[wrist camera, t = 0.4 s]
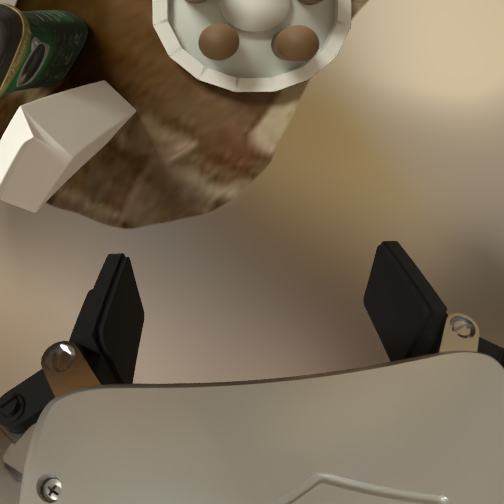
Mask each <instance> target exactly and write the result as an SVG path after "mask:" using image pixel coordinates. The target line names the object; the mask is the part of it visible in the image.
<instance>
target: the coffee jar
mask: <svg viewBox="0 0 504 504" xmlns="http://www.w3.org/2000/svg"><path fill="white" fill-rule="evenodd" d="M87 35H88V29H87V25H86V24H85V22H84V21H83V20H82V19H81V18H79V17H78V16H76V15H74V14H72V13H70V12H67V11H62V10H41V11H20V10H19V9H17V8H16V7H14V6H12V5H9V4H5V3H0V98H1V97H2V96H4V95H6V94H8V93H11V92H14V91H19V90H24V89H29V88H38V87H46V86H51V85H55V84H57V83H59V82H60V81H61V80H62V79H63V78H64V77H65V76H66V74H67V73H68V72H69V70H70V69H71V67H72V66H73V64H74V62H75V61H76V59H77V57H78V56H79V54H80V52H81V50H82V48H83V46H84V44H85V42H86V39H87Z"/></svg>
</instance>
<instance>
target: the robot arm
mask: <svg viewBox="0 0 504 504" xmlns="http://www.w3.org/2000/svg"><path fill="white" fill-rule="evenodd" d="M364 306H365V308H366V310H367V311H368V314H369V316H370V318H371V320H372V322H373V324H374V327H375V329H376V331H377V333H378V335H379V337H380V339H381V341H382V344H383V346H384V348H385V350H386V352H387V354H388V357H389V359H390V361H391V362H387V363H382V364H376V365H371V366H365V367H359V368H353V369H346V370H340V371H333V372H326V373H319V374H310V375H302V376H293V377H284V378H273V379H262V380H248V381H235V382H213V383H175V384H132V383H133V377H134V371H135V365H136V359H137V354H138V348H139V343H140V338H141V333H142V327H143V323H144V310H143V306H142V303H141V299H140V296H139V292H138V288H137V285H136V281H135V277H134V274H133V269H132V266H131V261H130V258H129V257H125V255H124V254H123V253H122V254H109V255H108V256H107V258H106V261H105V263H104V265H103V267H102V269H101V272H100V274H99V276H98V279H97V281H96V283H95V286H94V288H93V289H92V290H90V291H89V292H88V294H87V296H86V299H85V301H84V303H83V306H82V308H81V311H80V313H79V316H78V318H77V321H76V324H75V326H74V329H73V332H72V334H71V337H70V340H69V341H61V342H57V343H55V344H53V345H51V346H50V347H48V348H47V350H46V351H45V352H44V354H43V356H42V359H41V366H42V369H41V370H40V371H38V372H37V373H35V374H34V375H32V376H31V377H29V378H28V379H26V380H25V381H23V382H22V383H20V384H19V385H17V386H16V387H14V388H13V389H11V390H10V391H8V392H7V393H5V394H4V395H3V396H2V397H1V398H0V504H504V348H501V347H499V346H497V345H495V344H493V343H491V342H489V341H487V340H484V339H482V338H480V337H479V329H478V326H477V324H476V323H475V322H474V320H472V319H471V318H470V317H468V316H466V315H464V314H461V313H453V314H451V315H449V316H448V315H447V313H446V311H447V308H446V306H445V305H444V304H443V302H442V301H441V299H440V298H439V296H438V295H437V293H436V292H435V291H434V289H433V288H432V286H431V285H430V284H429V282H428V281H427V280H426V278H425V277H424V276H423V274H422V273H421V271H420V270H419V269H418V267H417V266H416V265H415V263H414V262H413V261H412V260H411V258H410V257H409V256H408V254H407V253H406V252H405V251H404V249H403V248H402V247H401V245H400V244H399V243H398V242H397V241H384V242H382V243H381V245H379V246H378V247H377V250H376V254H375V258H374V262H373V266H372V269H371V273H370V277H369V281H368V284H367V288H366V291H365V295H364Z"/></svg>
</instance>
